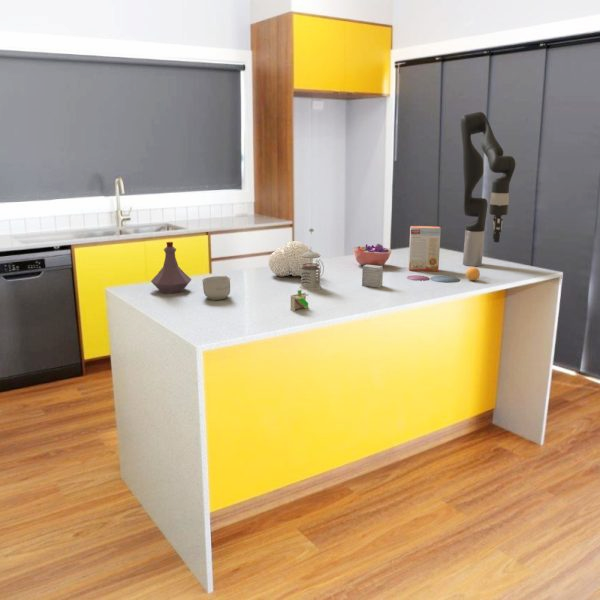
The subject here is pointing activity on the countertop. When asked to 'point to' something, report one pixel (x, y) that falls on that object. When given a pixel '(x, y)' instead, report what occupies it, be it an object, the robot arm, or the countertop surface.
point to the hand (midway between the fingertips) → (496, 240)
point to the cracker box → (424, 248)
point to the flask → (170, 273)
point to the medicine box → (372, 276)
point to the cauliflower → (289, 259)
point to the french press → (311, 272)
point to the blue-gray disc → (445, 279)
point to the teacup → (216, 287)
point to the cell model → (372, 255)
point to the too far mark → (418, 277)
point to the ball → (472, 273)
